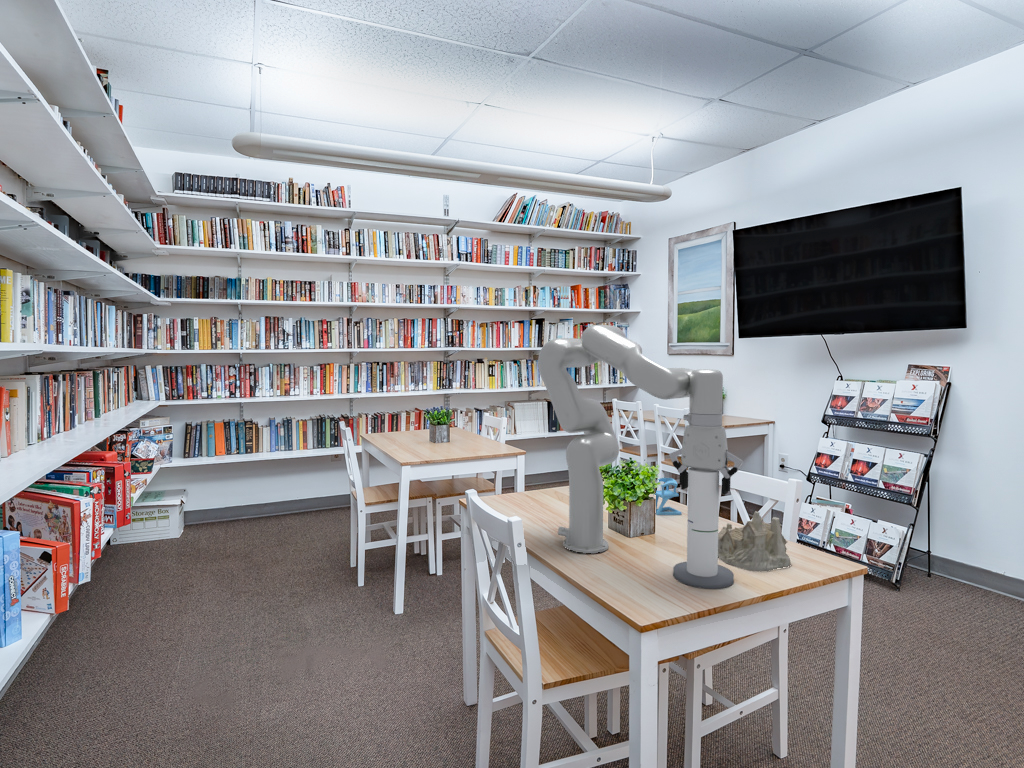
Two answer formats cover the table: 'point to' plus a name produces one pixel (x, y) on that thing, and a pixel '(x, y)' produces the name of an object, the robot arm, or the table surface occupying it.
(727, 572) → the coaster
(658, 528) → the table surface
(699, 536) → the cylindrical container
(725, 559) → the ceramic cottage
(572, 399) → the robot arm
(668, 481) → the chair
